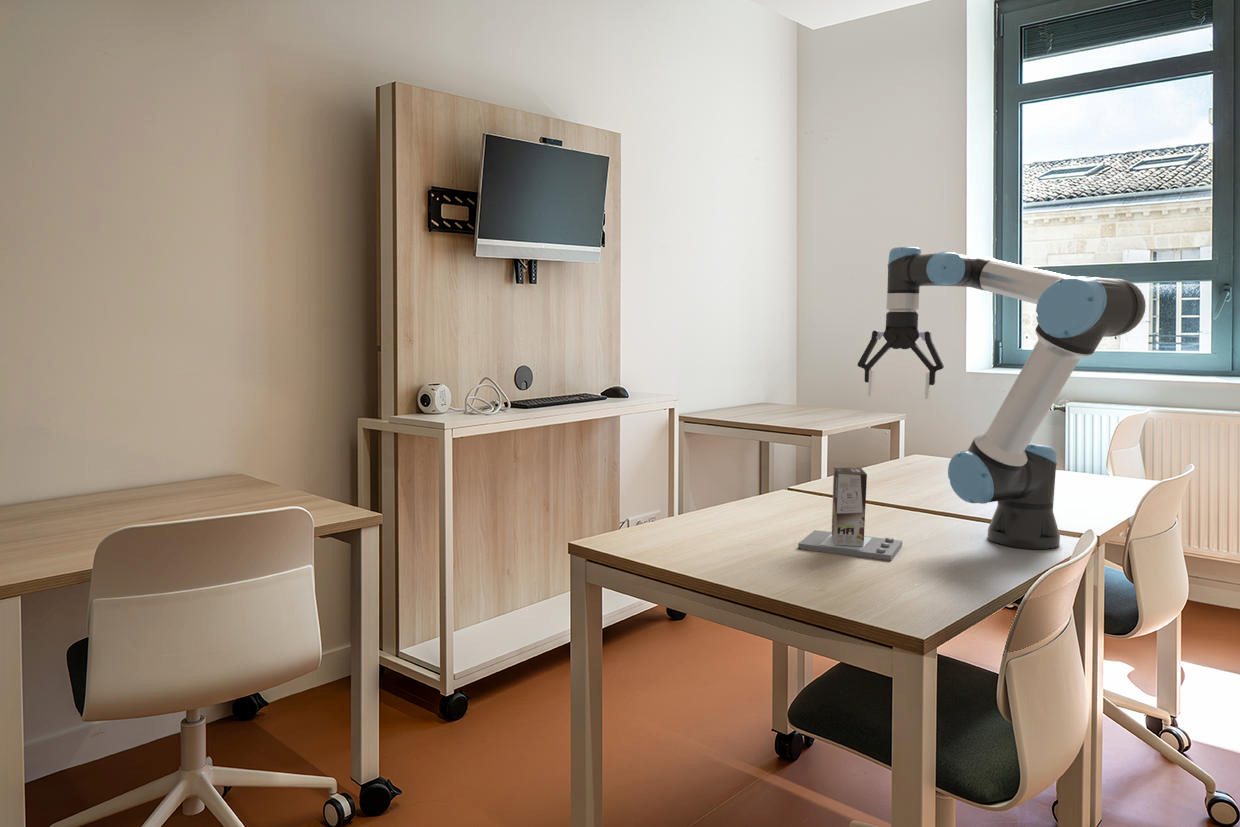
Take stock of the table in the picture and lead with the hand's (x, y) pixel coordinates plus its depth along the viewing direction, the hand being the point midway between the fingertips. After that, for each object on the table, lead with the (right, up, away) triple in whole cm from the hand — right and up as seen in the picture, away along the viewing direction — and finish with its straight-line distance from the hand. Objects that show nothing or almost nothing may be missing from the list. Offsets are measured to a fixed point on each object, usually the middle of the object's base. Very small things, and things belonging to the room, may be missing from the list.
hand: (898, 397), depth 213 cm
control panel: (-18, -34, -21) cm, 44 cm away
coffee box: (-18, -33, -21) cm, 43 cm away
